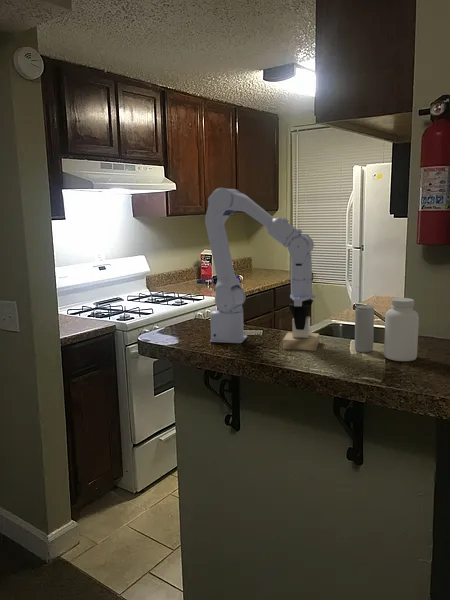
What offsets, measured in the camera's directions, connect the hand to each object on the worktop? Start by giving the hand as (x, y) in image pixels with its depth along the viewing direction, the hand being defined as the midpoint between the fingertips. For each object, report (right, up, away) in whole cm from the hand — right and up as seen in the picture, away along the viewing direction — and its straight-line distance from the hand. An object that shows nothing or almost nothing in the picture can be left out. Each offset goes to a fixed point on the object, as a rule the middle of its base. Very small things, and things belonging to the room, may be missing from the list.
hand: (301, 327), depth 142 cm
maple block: (0, -6, +1) cm, 6 cm away
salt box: (0, -2, 0) cm, 2 cm away
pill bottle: (+23, -7, -13) cm, 28 cm away
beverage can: (+16, -6, -6) cm, 18 cm away
